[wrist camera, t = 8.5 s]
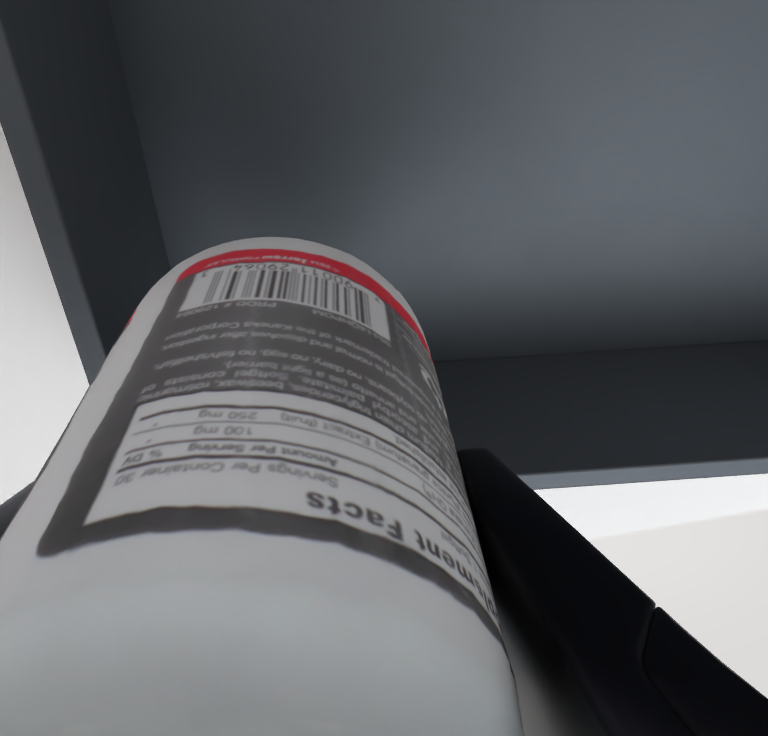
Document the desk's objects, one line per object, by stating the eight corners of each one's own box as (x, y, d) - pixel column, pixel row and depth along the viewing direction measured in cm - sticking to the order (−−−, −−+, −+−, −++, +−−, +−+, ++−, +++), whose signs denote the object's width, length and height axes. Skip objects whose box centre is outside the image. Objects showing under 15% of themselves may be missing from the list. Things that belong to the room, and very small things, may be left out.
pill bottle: (290, 524, 14) (215, 1396, 5) (65, 370, 11) (-695, 1478, 3) (491, 370, 12) (851, 1303, 4) (272, 153, 10) (-144, 1318, 1)
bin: (884, 337, 19) (1057, 454, 15) (185, 382, 19) (133, 518, 14) (1233, -482, 11) (1897, -820, 6) (-18, -444, 10) (-309, -781, 6)
